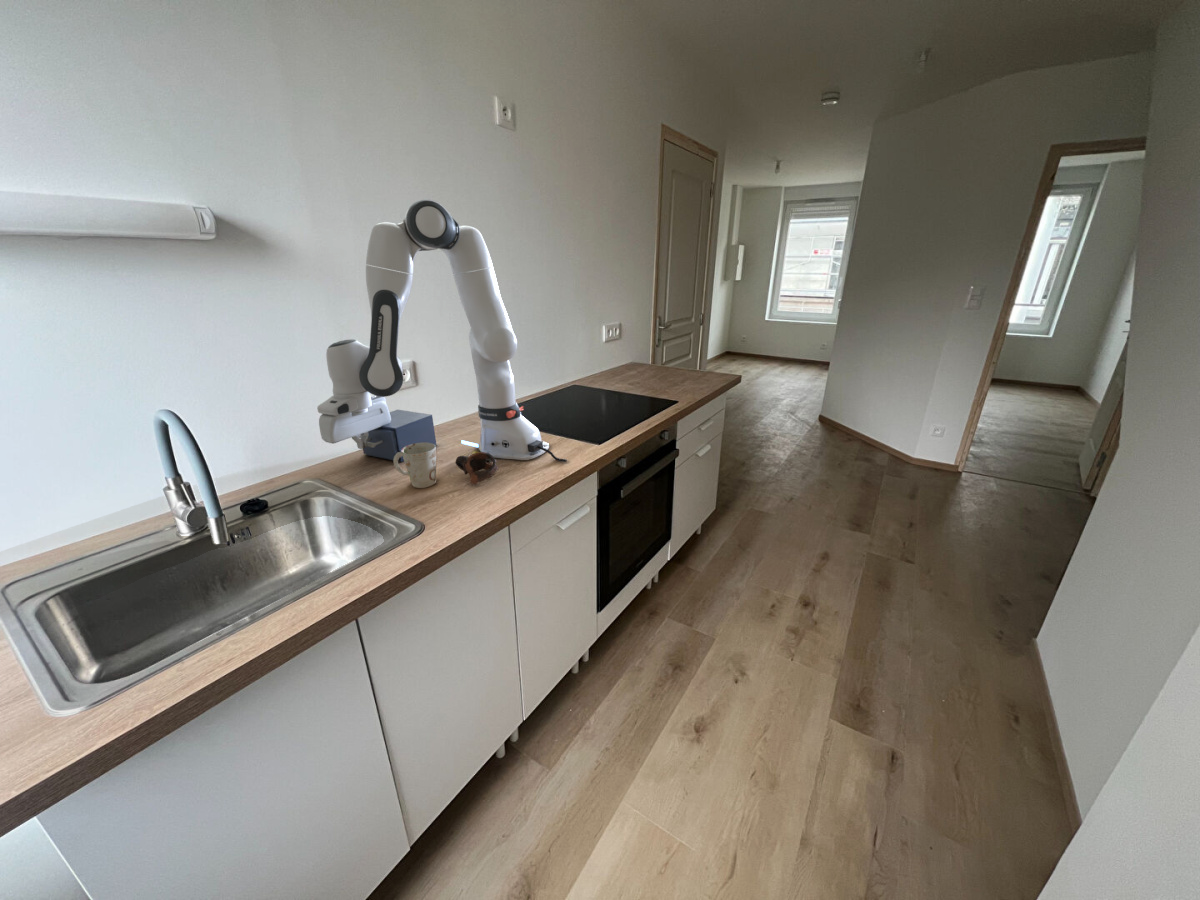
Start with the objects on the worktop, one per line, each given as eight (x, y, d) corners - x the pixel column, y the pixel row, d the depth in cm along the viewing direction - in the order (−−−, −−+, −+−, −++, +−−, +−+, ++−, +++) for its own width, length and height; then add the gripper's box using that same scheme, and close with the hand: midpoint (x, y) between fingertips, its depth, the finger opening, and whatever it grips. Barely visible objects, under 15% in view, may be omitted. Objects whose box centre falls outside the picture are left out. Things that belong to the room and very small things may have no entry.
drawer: (384, 465, 128) (378, 436, 125) (351, 458, 134) (345, 430, 130) (429, 445, 144) (425, 419, 140) (398, 439, 149) (393, 414, 145)
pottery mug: (502, 471, 128) (503, 453, 122) (491, 498, 122) (490, 480, 115) (462, 459, 128) (460, 441, 122) (448, 486, 122) (445, 467, 115)
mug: (430, 491, 115) (424, 455, 112) (386, 487, 118) (379, 451, 114) (446, 477, 123) (441, 443, 119) (405, 474, 125) (399, 440, 122)
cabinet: (401, 462, 133) (395, 428, 129) (366, 454, 139) (359, 422, 135) (436, 446, 146) (432, 414, 142) (402, 439, 151) (397, 409, 147)
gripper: (375, 391, 134) (383, 435, 139) (310, 408, 116) (322, 458, 121) (391, 393, 131) (399, 438, 136) (328, 411, 114) (339, 462, 119)
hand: (362, 447), depth 129 cm, fingers closed
